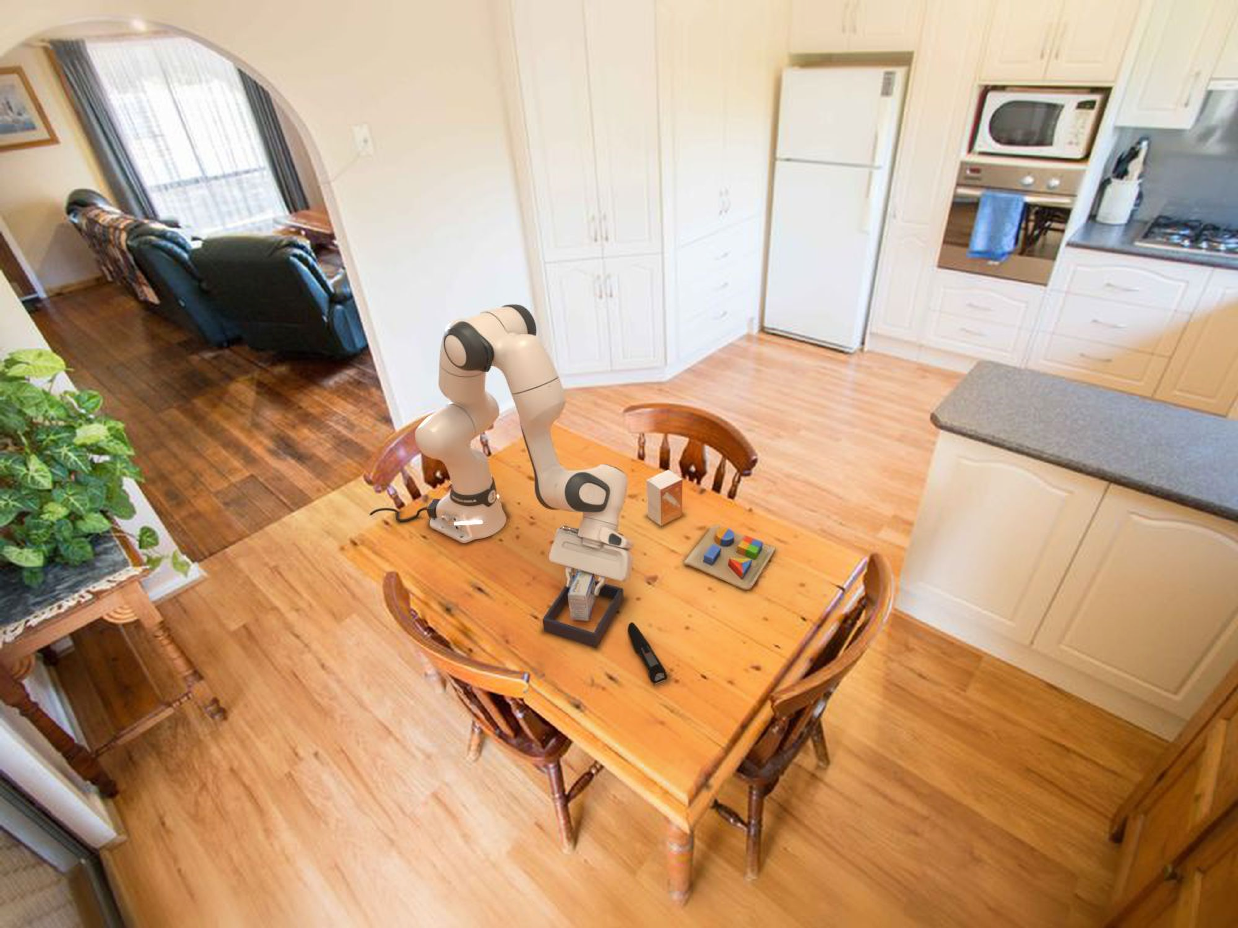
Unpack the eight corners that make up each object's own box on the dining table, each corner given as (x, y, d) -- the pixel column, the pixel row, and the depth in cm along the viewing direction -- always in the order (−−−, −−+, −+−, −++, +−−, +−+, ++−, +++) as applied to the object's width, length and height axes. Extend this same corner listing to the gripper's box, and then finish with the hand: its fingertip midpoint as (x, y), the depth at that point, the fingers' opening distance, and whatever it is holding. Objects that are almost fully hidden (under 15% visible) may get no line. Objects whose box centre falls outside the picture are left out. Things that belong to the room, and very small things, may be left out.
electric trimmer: (639, 628, 142) (638, 618, 140) (668, 679, 129) (668, 669, 128) (624, 633, 141) (623, 624, 139) (652, 685, 128) (651, 675, 127)
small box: (661, 527, 171) (660, 489, 164) (647, 516, 176) (645, 479, 168) (683, 515, 175) (683, 478, 168) (668, 505, 179) (668, 468, 172)
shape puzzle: (750, 592, 149) (752, 580, 146) (682, 566, 158) (682, 554, 155) (776, 550, 161) (778, 538, 158) (711, 528, 170) (711, 516, 167)
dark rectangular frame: (544, 631, 142) (542, 619, 140) (574, 586, 154) (573, 574, 152) (596, 648, 137) (595, 636, 135) (623, 600, 149) (623, 588, 147)
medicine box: (588, 622, 141) (586, 596, 136) (570, 619, 142) (567, 593, 137) (596, 597, 147) (594, 571, 143) (578, 594, 148) (576, 569, 143)
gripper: (553, 522, 145) (537, 579, 143) (632, 542, 137) (617, 602, 135) (563, 525, 150) (548, 580, 149) (640, 544, 143) (626, 602, 141)
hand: (582, 591), depth 142 cm, fingers closed on medicine box, 5 cm apart
